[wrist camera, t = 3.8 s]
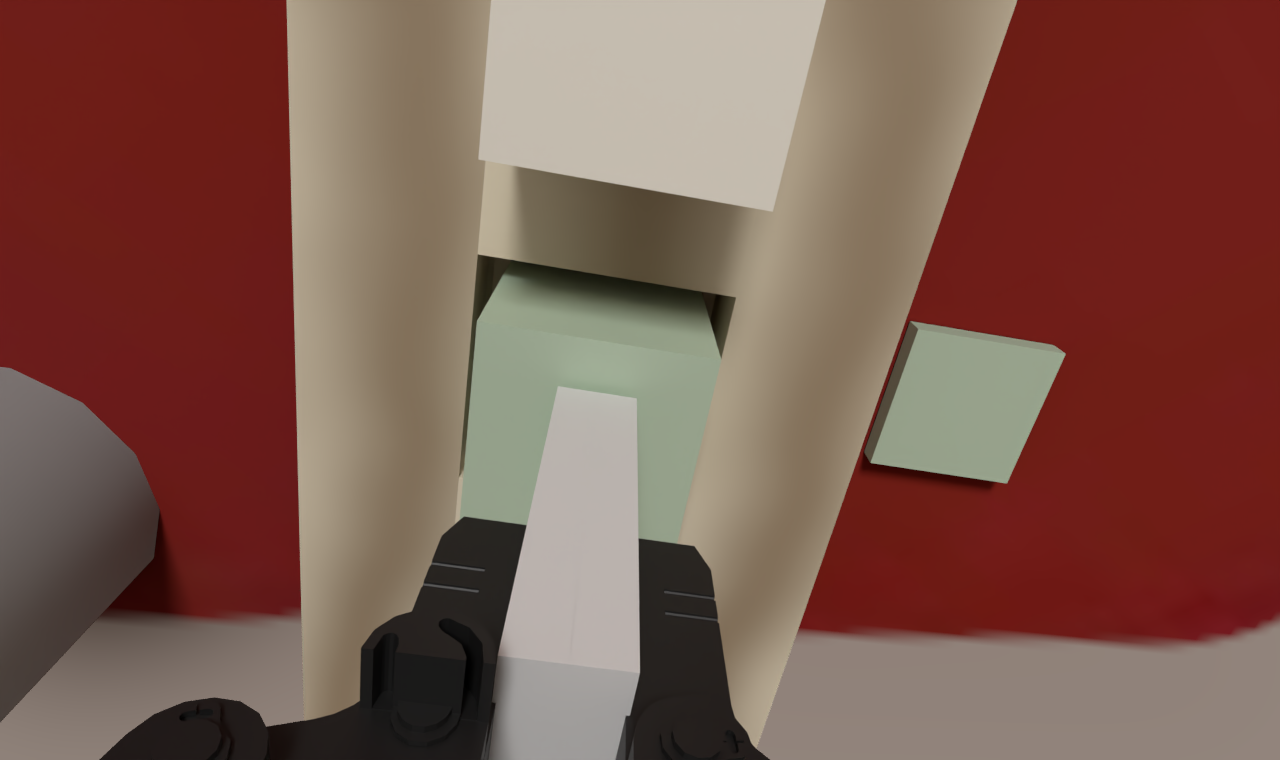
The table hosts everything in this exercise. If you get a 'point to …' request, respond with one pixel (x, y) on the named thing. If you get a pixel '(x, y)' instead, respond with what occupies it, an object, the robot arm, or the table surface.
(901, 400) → the tile
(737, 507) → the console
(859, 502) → the table surface
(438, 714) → the robot arm
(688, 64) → the button cream
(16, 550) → the cup
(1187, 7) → the table surface
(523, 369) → the button sage
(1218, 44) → the table surface
